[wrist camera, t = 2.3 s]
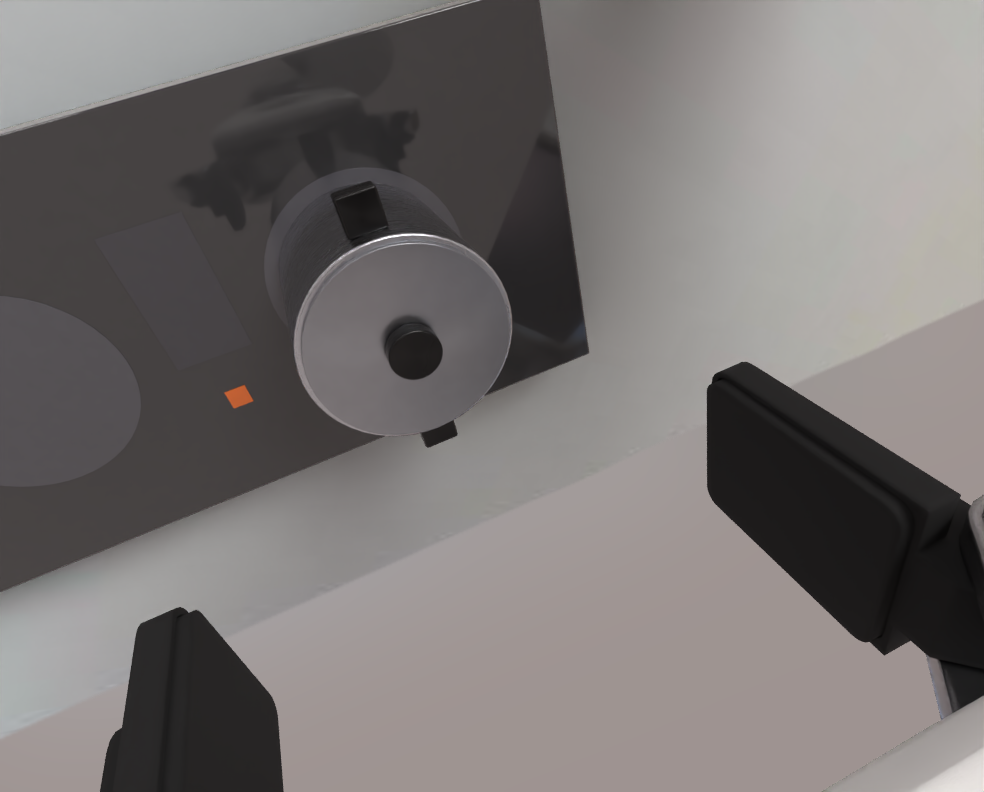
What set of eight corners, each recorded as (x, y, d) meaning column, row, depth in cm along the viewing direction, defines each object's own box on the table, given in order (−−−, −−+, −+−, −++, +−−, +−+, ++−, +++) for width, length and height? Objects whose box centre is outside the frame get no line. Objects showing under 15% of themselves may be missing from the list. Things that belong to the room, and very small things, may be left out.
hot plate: (509, -15, 22) (538, -19, 20) (566, 332, 30) (590, 353, 28) (-457, 258, 17) (-551, 291, 15) (-57, 579, 26) (-82, 626, 24)
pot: (417, 124, 21) (488, 163, 15) (476, 339, 26) (545, 429, 20) (230, 183, 20) (229, 250, 14) (330, 395, 25) (360, 507, 19)
